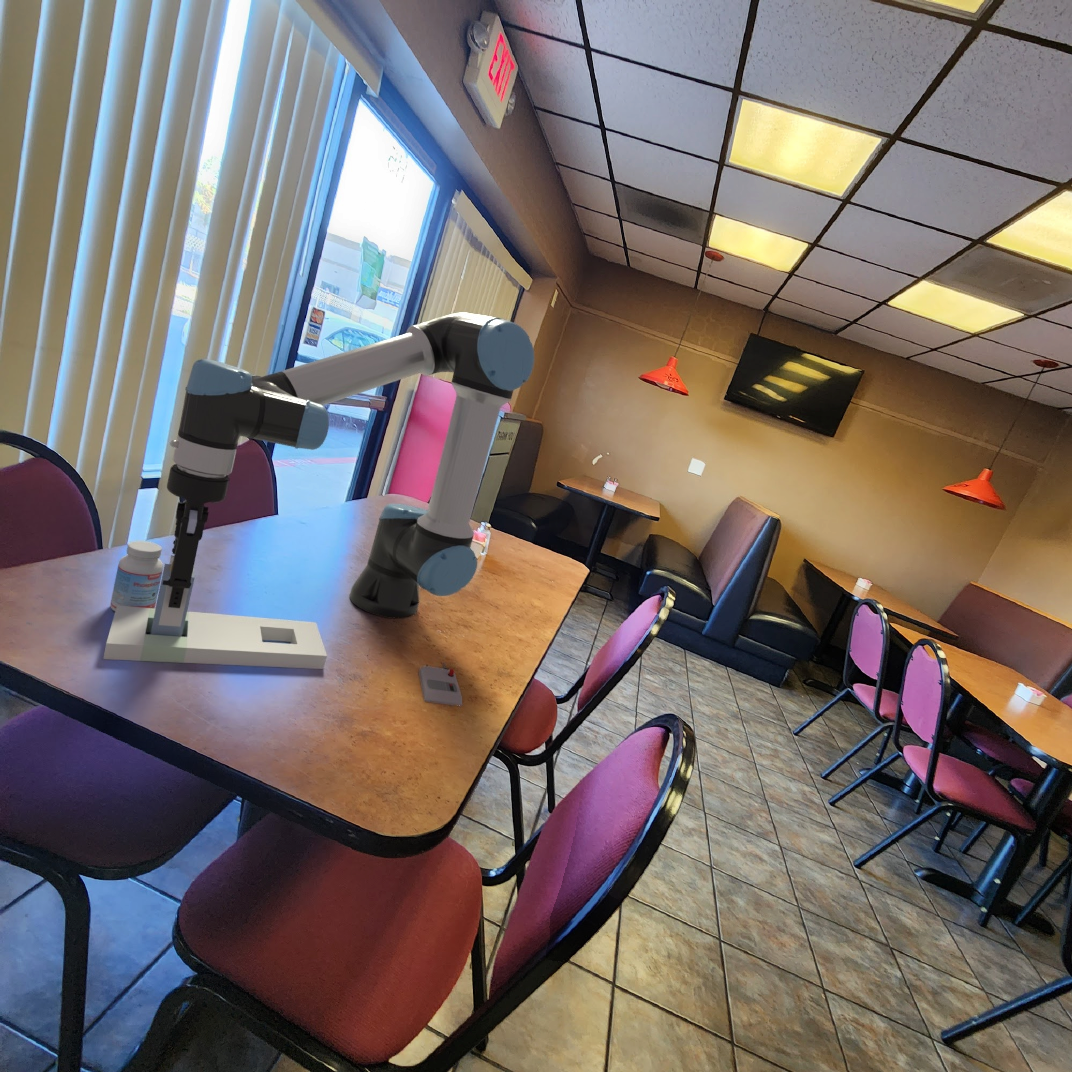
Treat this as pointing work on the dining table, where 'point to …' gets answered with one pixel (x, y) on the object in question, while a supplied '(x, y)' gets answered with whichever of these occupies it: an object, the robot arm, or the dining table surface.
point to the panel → (216, 640)
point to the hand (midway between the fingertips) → (171, 609)
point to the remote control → (440, 685)
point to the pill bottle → (138, 576)
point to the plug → (156, 627)
